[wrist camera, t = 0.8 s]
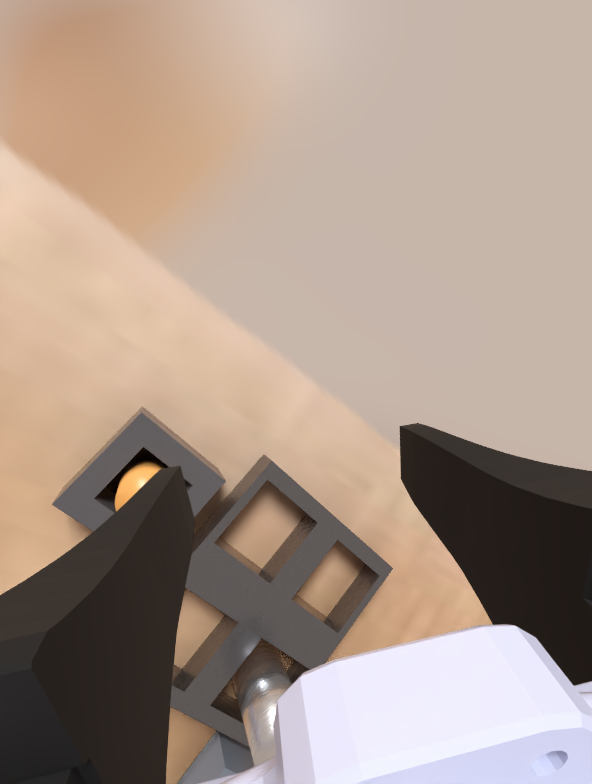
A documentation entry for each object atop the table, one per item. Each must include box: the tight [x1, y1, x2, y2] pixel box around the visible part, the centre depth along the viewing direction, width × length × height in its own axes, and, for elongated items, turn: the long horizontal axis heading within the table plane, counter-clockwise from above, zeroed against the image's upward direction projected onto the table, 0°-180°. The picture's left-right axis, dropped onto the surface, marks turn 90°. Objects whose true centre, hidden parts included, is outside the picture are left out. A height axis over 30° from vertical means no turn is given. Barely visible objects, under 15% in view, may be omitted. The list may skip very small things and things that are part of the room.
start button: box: [115, 460, 166, 511], centre depth 23 cm, size 3×3×3 cm
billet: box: [232, 642, 292, 766], centre depth 27 cm, size 4×4×7 cm
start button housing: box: [52, 407, 226, 532], centre depth 24 cm, size 7×7×3 cm
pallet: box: [170, 455, 393, 747], centre depth 29 cm, size 17×15×2 cm
